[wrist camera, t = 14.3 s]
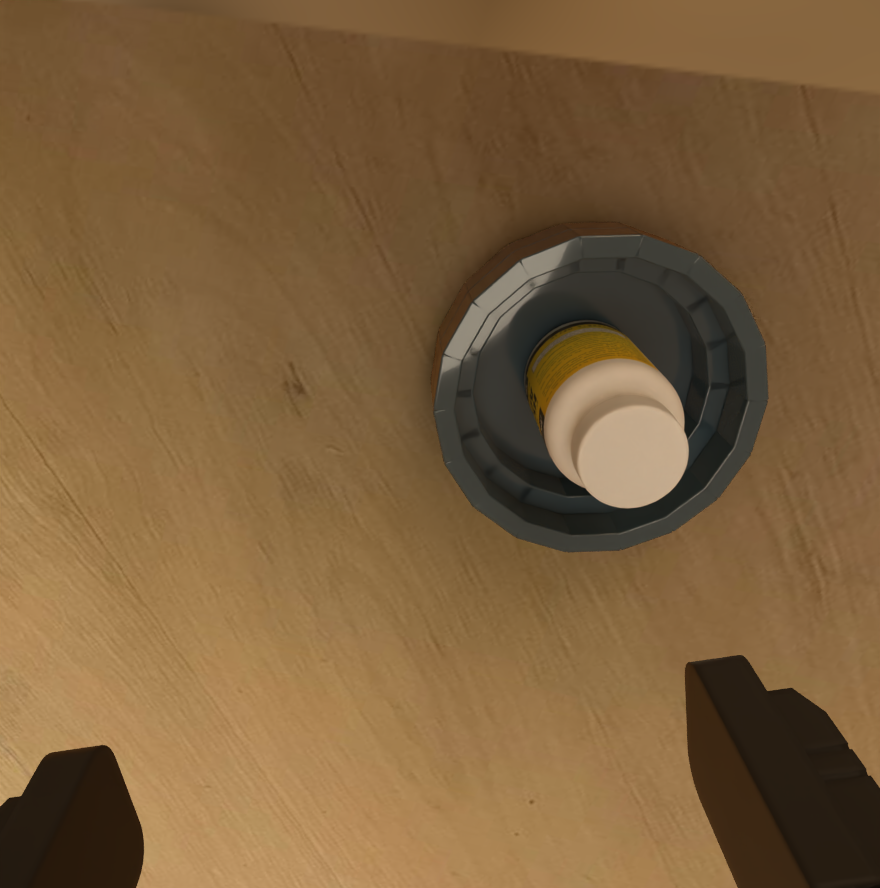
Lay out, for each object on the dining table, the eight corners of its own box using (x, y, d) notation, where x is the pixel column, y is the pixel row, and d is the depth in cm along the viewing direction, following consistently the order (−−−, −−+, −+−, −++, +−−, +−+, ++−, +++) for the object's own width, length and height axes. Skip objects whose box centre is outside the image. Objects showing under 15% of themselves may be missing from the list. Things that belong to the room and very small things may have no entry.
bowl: (426, 224, 36) (428, 240, 31) (742, 216, 36) (791, 230, 31) (433, 508, 41) (436, 557, 36) (710, 498, 41) (749, 546, 37)
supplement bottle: (498, 368, 37) (526, 448, 28) (594, 293, 36) (656, 351, 27) (567, 452, 39) (615, 553, 30) (661, 382, 38) (740, 465, 29)
